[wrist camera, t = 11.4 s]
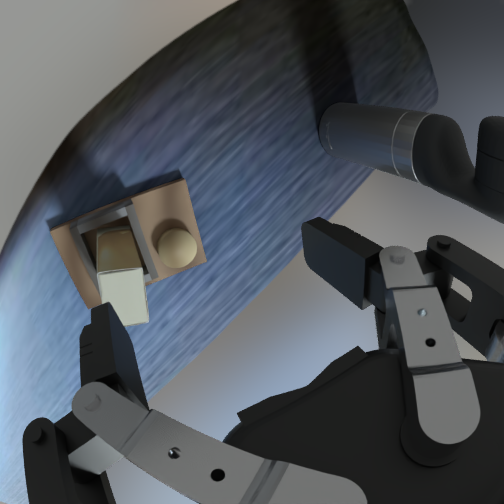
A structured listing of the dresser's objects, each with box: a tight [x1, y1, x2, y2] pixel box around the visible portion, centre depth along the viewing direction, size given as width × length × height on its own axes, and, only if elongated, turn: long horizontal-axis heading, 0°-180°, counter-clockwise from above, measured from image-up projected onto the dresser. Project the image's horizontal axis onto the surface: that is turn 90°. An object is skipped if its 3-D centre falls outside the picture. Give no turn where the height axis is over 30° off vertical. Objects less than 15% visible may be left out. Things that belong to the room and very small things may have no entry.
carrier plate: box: [50, 178, 207, 309], centre depth 36 cm, size 18×12×4 cm, turn 101°
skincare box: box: [97, 225, 149, 327], centre depth 31 cm, size 6×4×12 cm
